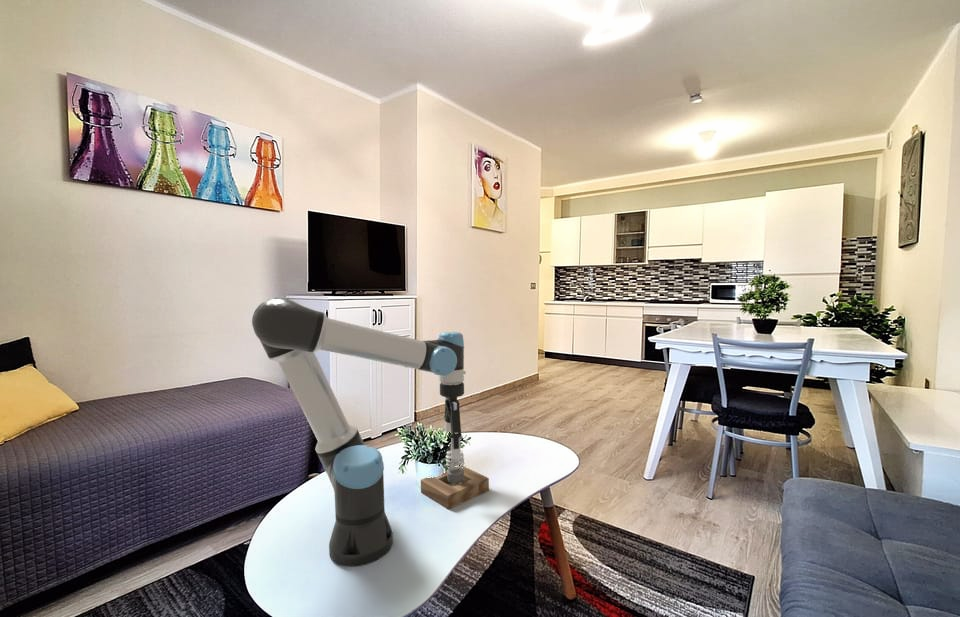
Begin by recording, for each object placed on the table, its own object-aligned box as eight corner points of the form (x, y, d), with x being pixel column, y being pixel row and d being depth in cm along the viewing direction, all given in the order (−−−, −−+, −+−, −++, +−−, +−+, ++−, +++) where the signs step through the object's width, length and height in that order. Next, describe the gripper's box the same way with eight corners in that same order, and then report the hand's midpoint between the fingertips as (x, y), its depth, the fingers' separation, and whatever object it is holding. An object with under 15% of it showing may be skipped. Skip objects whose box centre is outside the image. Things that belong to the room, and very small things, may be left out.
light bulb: (449, 493, 126) (447, 454, 126) (445, 485, 132) (443, 447, 131) (467, 490, 128) (465, 451, 128) (462, 482, 133) (461, 445, 133)
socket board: (448, 509, 119) (447, 495, 119) (420, 492, 130) (420, 479, 130) (489, 490, 130) (488, 478, 130) (460, 476, 140) (460, 464, 140)
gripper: (471, 390, 117) (471, 465, 118) (457, 374, 141) (458, 435, 142) (444, 392, 115) (445, 467, 116) (435, 375, 140) (436, 437, 141)
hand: (452, 450), depth 129 cm, fingers open, 13 cm apart
